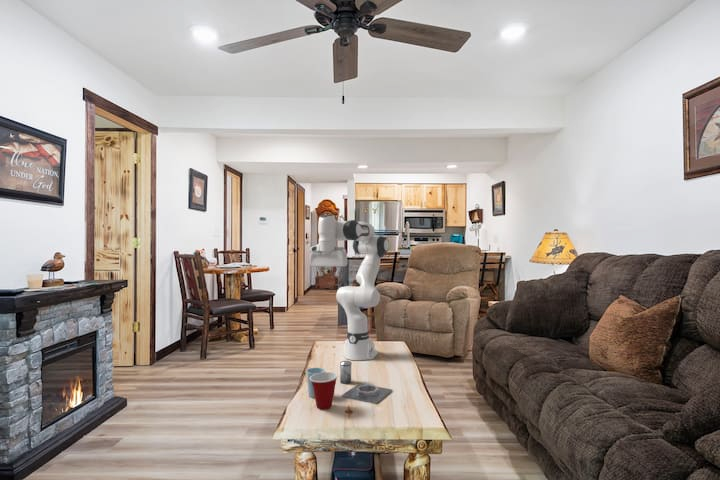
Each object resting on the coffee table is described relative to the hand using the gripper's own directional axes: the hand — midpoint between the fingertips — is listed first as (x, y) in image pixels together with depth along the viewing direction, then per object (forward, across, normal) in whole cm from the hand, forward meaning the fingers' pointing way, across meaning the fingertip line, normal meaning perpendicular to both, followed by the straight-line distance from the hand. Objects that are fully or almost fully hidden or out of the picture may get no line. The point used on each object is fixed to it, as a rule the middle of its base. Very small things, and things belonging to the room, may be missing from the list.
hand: (328, 275), depth 195 cm
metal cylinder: (+48, -12, +7) cm, 50 cm away
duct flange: (+48, -28, +14) cm, 57 cm away
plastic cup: (+48, -20, +34) cm, 62 cm away
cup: (+48, -10, +27) cm, 55 cm away
